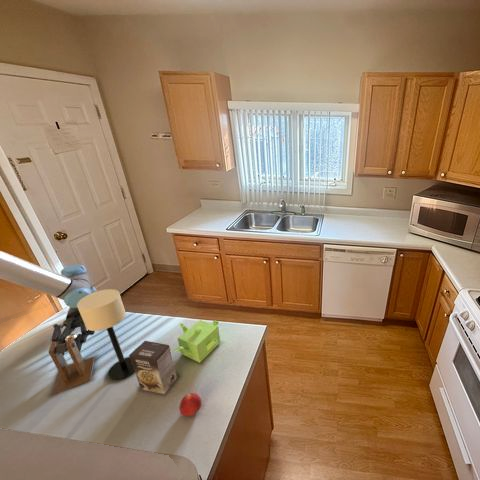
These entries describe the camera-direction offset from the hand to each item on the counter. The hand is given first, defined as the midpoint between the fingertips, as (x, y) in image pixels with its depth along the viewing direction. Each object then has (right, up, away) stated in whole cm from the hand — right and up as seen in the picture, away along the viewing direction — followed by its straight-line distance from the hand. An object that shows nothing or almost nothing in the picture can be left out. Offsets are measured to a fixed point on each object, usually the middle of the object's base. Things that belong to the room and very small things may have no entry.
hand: (69, 351), depth 85 cm
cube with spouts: (+38, -6, +14) cm, 41 cm away
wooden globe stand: (+1, -9, +2) cm, 9 cm away
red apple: (+45, -16, -7) cm, 49 cm away
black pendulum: (-1, +1, 0) cm, 1 cm away
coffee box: (+31, -12, 0) cm, 33 cm away
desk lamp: (+16, -9, +4) cm, 18 cm away
